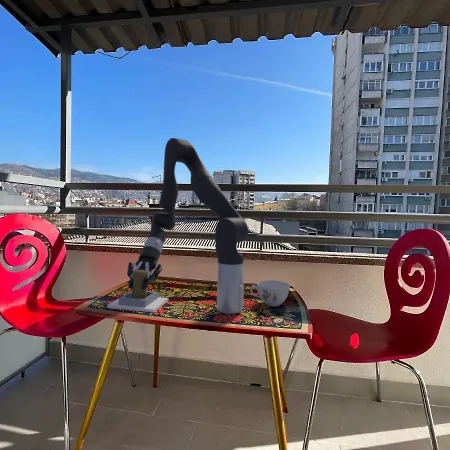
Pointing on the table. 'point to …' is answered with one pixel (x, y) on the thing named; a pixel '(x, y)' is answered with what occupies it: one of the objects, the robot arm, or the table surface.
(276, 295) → the teacup
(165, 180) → the robot arm
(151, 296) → the socket board
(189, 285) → the table surface
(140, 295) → the cork
